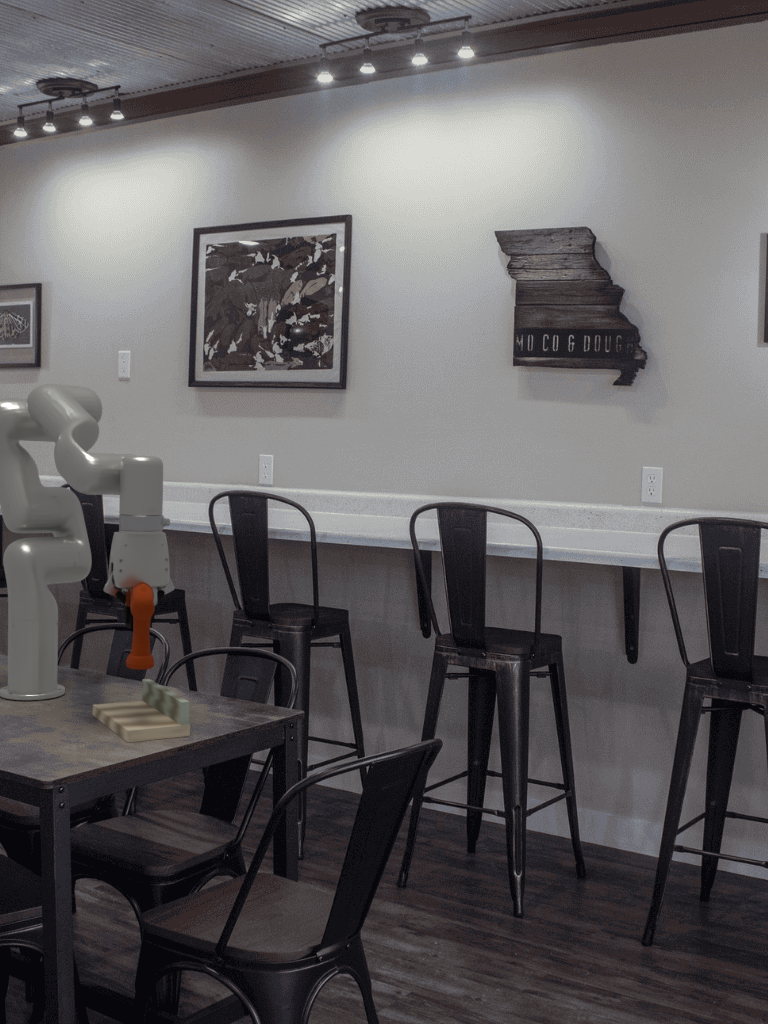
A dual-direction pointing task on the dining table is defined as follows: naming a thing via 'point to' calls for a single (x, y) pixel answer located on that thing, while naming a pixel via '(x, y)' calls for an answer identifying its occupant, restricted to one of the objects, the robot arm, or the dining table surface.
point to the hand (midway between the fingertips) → (138, 626)
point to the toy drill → (141, 627)
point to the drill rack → (147, 715)
